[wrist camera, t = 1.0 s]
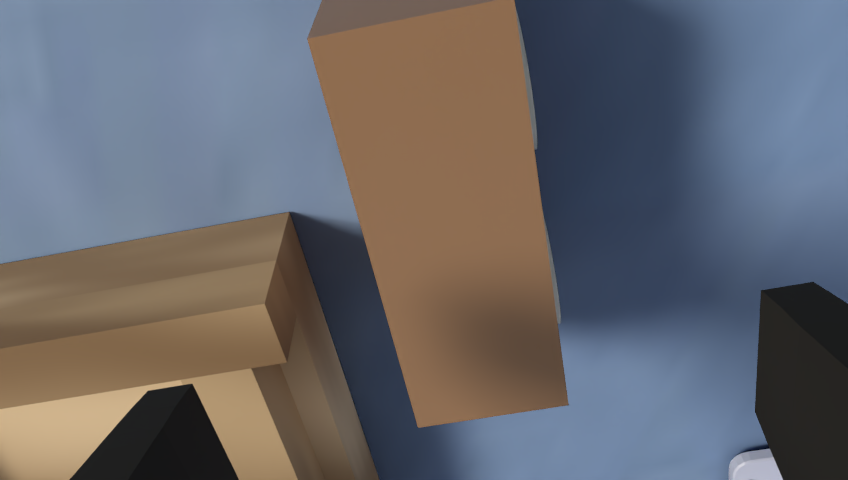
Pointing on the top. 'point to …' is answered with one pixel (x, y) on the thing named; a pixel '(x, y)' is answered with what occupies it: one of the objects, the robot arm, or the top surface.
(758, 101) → the top surface
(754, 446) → the top surface
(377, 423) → the top surface
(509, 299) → the tan wooden post
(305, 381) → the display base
